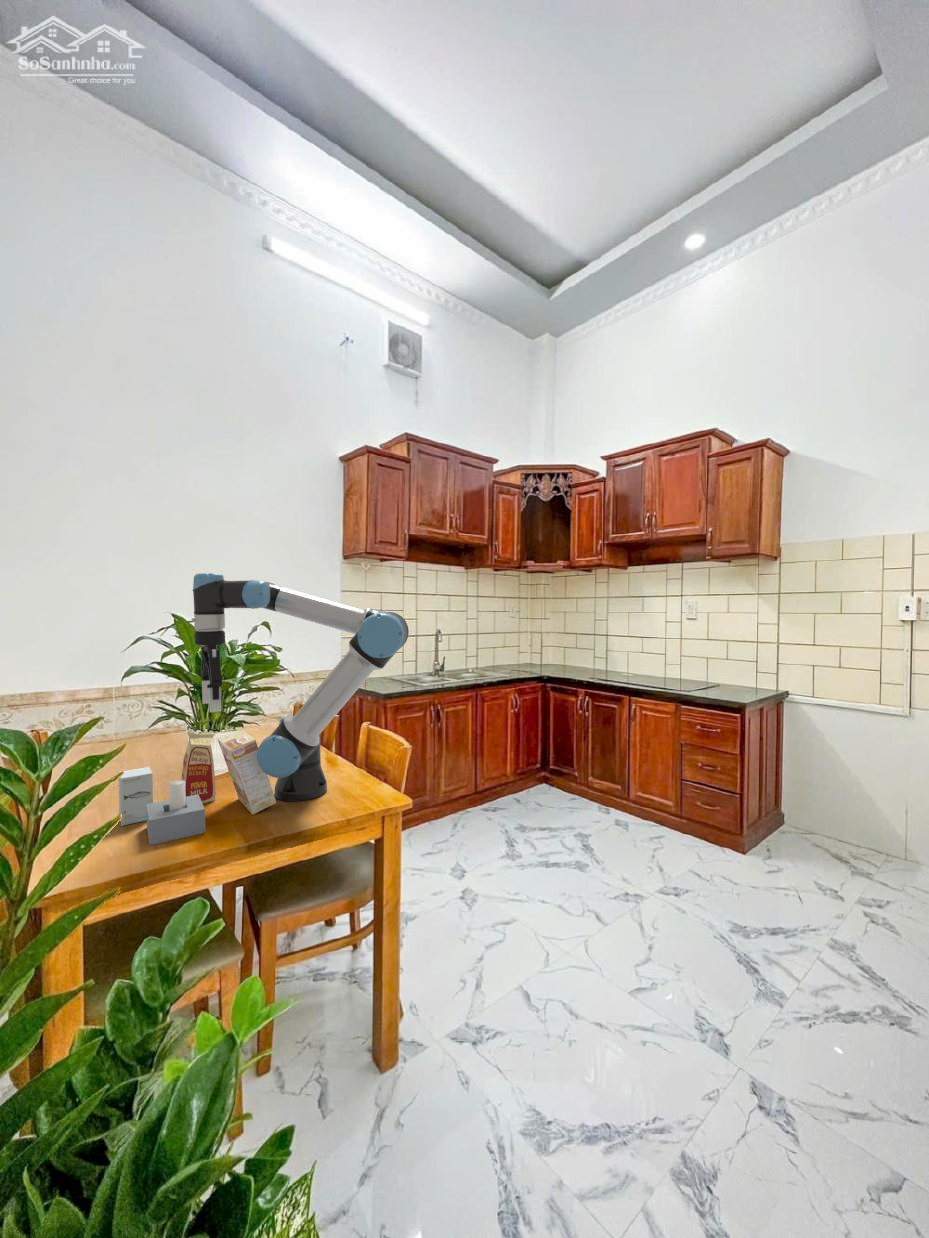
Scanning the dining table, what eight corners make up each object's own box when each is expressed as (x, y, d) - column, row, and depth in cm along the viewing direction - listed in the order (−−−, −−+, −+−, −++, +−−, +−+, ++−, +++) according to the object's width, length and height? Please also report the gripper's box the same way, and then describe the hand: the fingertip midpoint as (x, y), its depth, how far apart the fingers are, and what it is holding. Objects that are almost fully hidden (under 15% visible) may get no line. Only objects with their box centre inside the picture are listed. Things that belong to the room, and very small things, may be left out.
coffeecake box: (237, 799, 153) (216, 738, 149) (261, 787, 157) (241, 728, 153) (251, 815, 141) (229, 750, 137) (277, 802, 145) (256, 738, 141)
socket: (199, 816, 141) (198, 794, 140) (205, 832, 131) (204, 808, 130) (146, 827, 134) (146, 804, 134) (149, 845, 124) (148, 820, 124)
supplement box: (120, 827, 134) (119, 778, 134) (119, 817, 140) (117, 770, 140) (154, 819, 139) (152, 772, 138) (151, 810, 145) (149, 765, 144)
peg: (184, 825, 135) (184, 779, 135) (186, 830, 132) (186, 783, 132) (168, 828, 133) (168, 782, 133) (170, 833, 130) (169, 786, 130)
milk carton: (184, 807, 147) (182, 736, 146) (181, 796, 155) (179, 730, 154) (219, 800, 152) (217, 732, 151) (214, 790, 160) (213, 725, 159)
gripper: (188, 628, 151) (190, 701, 152) (200, 632, 130) (202, 717, 131) (217, 627, 155) (218, 698, 156) (233, 631, 134) (235, 713, 135)
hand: (211, 707), depth 143 cm, fingers open, 13 cm apart
